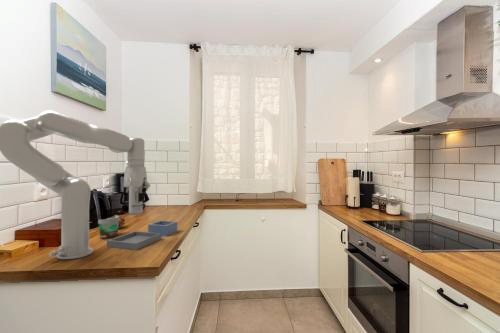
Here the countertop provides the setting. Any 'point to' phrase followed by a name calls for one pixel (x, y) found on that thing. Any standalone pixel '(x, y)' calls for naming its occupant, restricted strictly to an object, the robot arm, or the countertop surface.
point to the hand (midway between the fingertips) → (135, 200)
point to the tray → (134, 240)
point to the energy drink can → (135, 201)
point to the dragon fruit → (120, 221)
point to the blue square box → (163, 227)
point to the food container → (108, 227)
